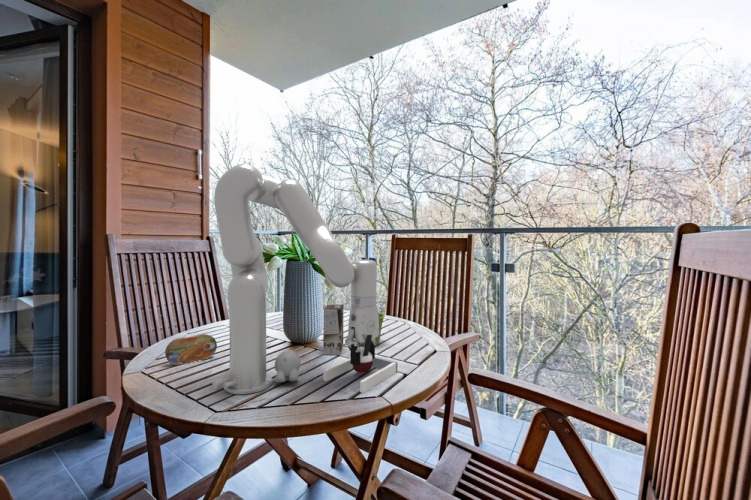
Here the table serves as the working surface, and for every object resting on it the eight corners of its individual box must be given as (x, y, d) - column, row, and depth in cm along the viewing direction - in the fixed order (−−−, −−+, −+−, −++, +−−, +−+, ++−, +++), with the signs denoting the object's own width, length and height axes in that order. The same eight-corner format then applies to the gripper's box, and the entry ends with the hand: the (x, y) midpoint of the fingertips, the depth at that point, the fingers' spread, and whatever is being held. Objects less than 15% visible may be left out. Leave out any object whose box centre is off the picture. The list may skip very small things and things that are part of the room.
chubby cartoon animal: (301, 381, 106) (302, 352, 109) (299, 381, 95) (300, 349, 98) (276, 382, 105) (278, 352, 108) (272, 382, 94) (274, 349, 97)
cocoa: (352, 367, 109) (351, 328, 109) (372, 366, 109) (371, 327, 109) (352, 378, 99) (351, 335, 99) (374, 377, 100) (373, 334, 100)
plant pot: (360, 338, 143) (361, 310, 142) (388, 341, 139) (388, 313, 138) (349, 346, 132) (349, 317, 131) (379, 350, 128) (379, 319, 127)
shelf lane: (363, 393, 93) (363, 381, 92) (323, 380, 100) (323, 370, 100) (397, 371, 107) (397, 362, 107) (360, 362, 115) (360, 353, 115)
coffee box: (341, 355, 122) (341, 309, 122) (322, 354, 122) (322, 309, 122) (343, 347, 131) (344, 304, 131) (326, 346, 132) (326, 304, 131)
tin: (166, 368, 109) (165, 341, 109) (164, 365, 112) (164, 338, 111) (217, 357, 119) (217, 333, 118) (214, 355, 121) (214, 331, 121)
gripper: (356, 307, 95) (355, 373, 95) (389, 298, 109) (388, 355, 110) (334, 304, 99) (334, 367, 99) (369, 296, 113) (369, 351, 114)
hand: (362, 360), depth 104 cm, fingers closed on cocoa, 6 cm apart
